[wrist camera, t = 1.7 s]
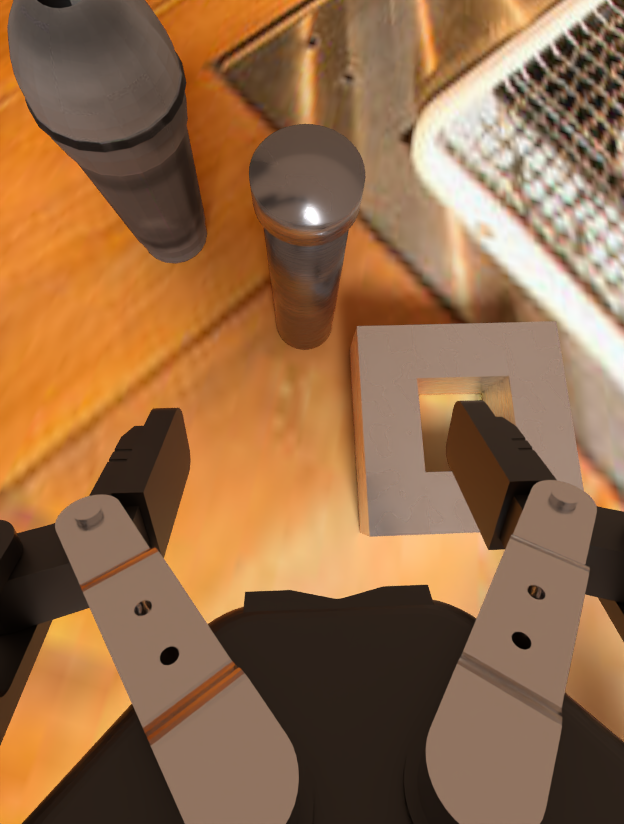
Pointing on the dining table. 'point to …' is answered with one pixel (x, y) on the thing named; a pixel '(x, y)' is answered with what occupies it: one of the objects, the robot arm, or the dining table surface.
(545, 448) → the block
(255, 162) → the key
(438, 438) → the dining table surface
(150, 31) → the beverage cup
